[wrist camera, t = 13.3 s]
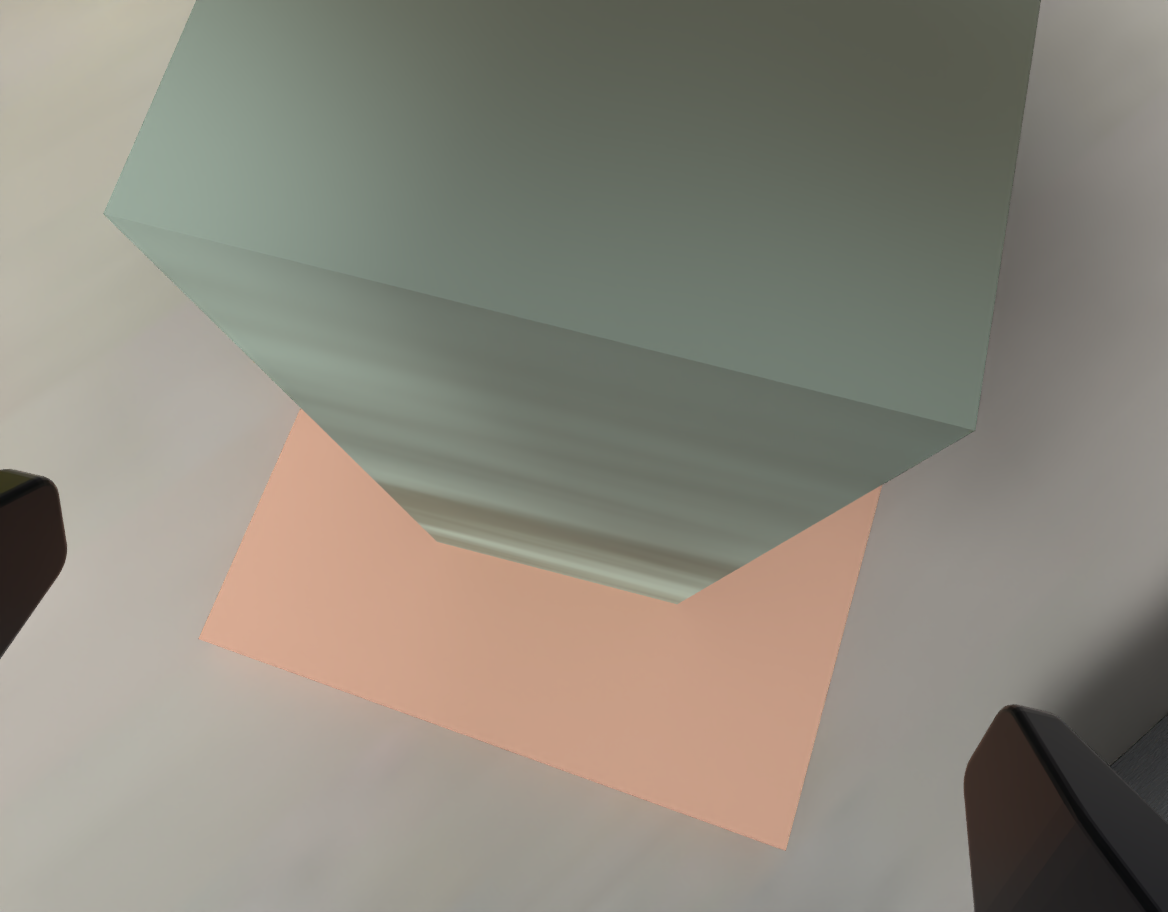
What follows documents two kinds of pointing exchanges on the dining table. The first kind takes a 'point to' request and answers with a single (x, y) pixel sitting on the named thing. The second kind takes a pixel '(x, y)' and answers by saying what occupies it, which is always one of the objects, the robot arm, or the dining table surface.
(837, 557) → the terracotta pad
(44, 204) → the dining table surface
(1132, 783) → the socket plate
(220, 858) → the dining table surface
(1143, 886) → the robot arm
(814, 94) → the square plug
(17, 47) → the dining table surface
